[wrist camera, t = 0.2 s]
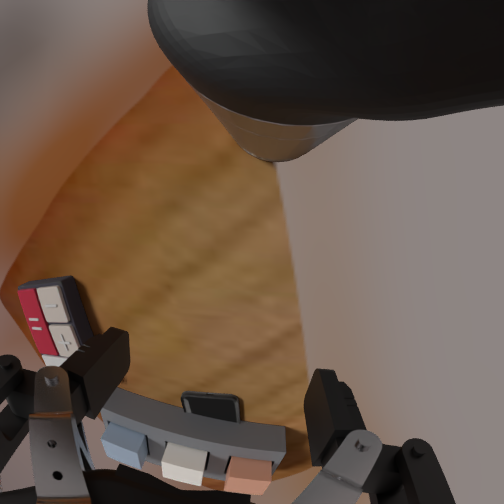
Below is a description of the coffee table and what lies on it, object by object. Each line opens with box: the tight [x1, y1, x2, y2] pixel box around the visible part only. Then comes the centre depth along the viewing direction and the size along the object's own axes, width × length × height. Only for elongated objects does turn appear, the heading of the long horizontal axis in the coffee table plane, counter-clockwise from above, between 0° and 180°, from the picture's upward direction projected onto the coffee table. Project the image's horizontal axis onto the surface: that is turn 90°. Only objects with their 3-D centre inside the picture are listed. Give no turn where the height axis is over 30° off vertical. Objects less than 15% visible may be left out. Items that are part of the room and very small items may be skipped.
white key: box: [161, 442, 207, 486], centre depth 29 cm, size 6×6×4 cm
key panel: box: [101, 387, 286, 481], centre depth 32 cm, size 12×26×5 cm, turn 79°
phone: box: [181, 391, 240, 424], centre depth 34 cm, size 8×1×15 cm
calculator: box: [18, 276, 93, 367], centre depth 30 cm, size 11×4×15 cm
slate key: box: [101, 421, 148, 469], centre depth 29 cm, size 6×6×4 cm
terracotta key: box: [224, 456, 272, 495], centre depth 29 cm, size 6×6×4 cm
